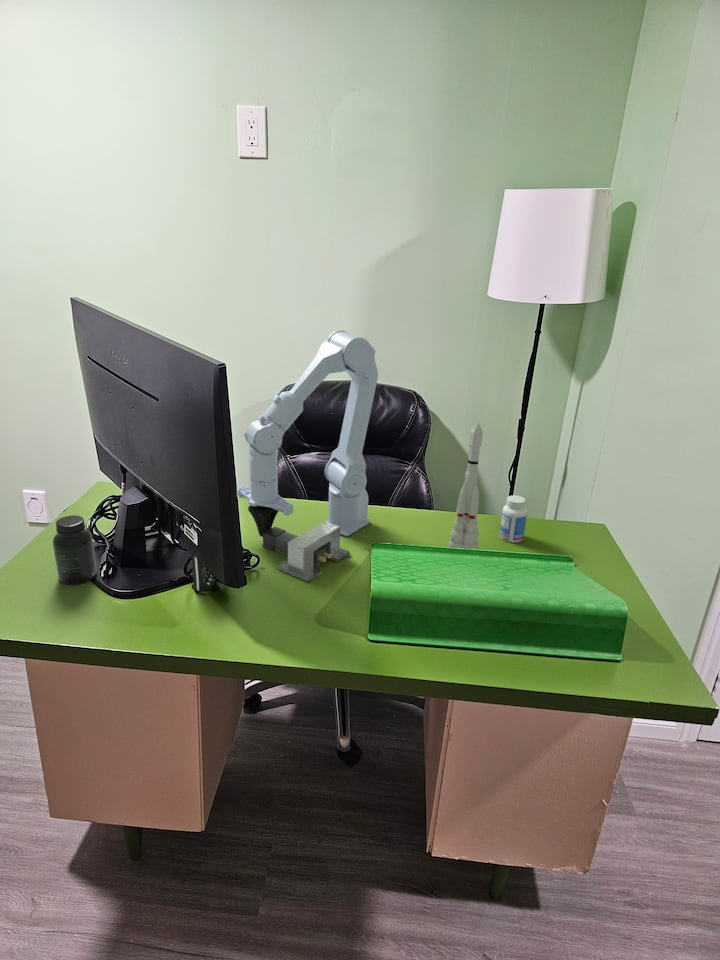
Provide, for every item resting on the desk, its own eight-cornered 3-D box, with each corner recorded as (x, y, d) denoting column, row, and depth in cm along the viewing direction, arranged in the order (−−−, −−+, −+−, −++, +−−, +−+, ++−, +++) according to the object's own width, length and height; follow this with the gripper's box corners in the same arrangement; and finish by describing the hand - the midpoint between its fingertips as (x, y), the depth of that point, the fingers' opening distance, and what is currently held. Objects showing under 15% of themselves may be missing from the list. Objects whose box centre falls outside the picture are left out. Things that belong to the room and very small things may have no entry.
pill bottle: (523, 534, 147) (529, 495, 143) (523, 544, 142) (529, 505, 138) (499, 530, 148) (505, 492, 144) (498, 541, 143) (504, 501, 139)
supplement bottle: (71, 565, 126) (63, 511, 121) (103, 569, 125) (96, 514, 120) (51, 583, 120) (41, 526, 115) (85, 587, 119) (76, 530, 114)
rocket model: (438, 551, 137) (451, 419, 126) (465, 544, 141) (480, 415, 129) (458, 567, 132) (475, 430, 120) (486, 560, 135) (504, 426, 123)
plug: (274, 539, 139) (274, 526, 138) (333, 560, 132) (333, 547, 131) (263, 546, 136) (262, 533, 135) (321, 568, 129) (322, 554, 128)
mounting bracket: (320, 543, 139) (320, 516, 136) (349, 554, 134) (350, 527, 132) (277, 569, 128) (276, 540, 125) (307, 582, 124) (308, 553, 121)
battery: (213, 593, 119) (210, 539, 115) (193, 591, 119) (189, 538, 115) (222, 573, 125) (220, 522, 121) (203, 572, 126) (200, 521, 121)
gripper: (225, 474, 133) (227, 531, 138) (276, 492, 126) (277, 552, 131) (249, 464, 138) (250, 520, 144) (299, 482, 131) (299, 540, 136)
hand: (264, 535), depth 138 cm, fingers closed
